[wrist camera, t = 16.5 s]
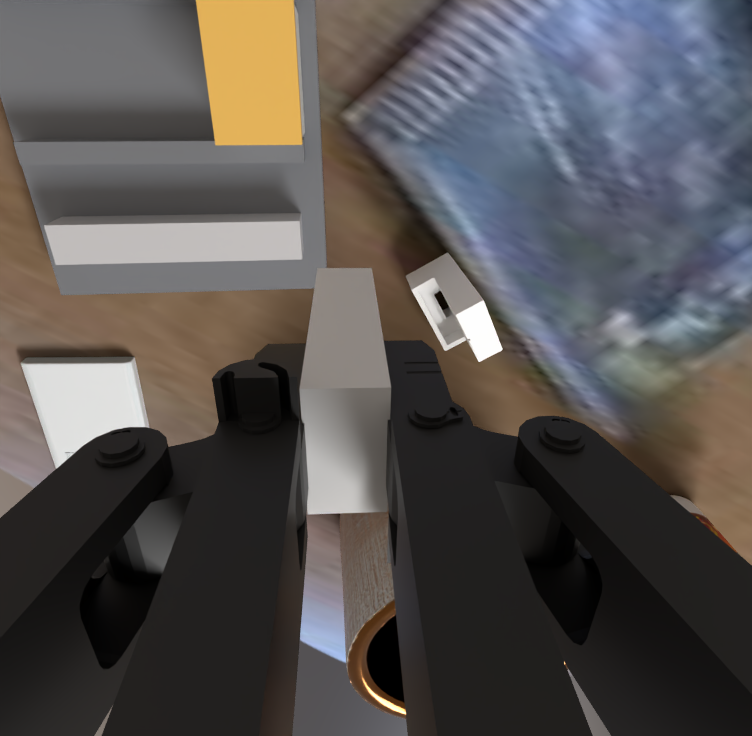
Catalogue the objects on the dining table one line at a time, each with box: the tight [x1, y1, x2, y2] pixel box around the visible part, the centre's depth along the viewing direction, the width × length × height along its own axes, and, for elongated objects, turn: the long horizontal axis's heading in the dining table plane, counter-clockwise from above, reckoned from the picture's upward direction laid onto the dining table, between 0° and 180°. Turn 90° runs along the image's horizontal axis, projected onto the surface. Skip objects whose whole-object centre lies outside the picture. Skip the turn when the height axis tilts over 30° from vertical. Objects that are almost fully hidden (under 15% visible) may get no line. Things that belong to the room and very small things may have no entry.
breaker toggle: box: [196, 0, 305, 145], centre depth 27 cm, size 4×6×7 cm
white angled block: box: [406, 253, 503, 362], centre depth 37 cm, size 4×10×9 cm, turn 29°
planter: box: [340, 508, 568, 719], centre depth 44 cm, size 18×18×16 cm
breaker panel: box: [0, 0, 327, 295], centre depth 30 cm, size 18×26×5 cm
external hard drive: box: [21, 357, 149, 469], centre depth 43 cm, size 2×8×12 cm
